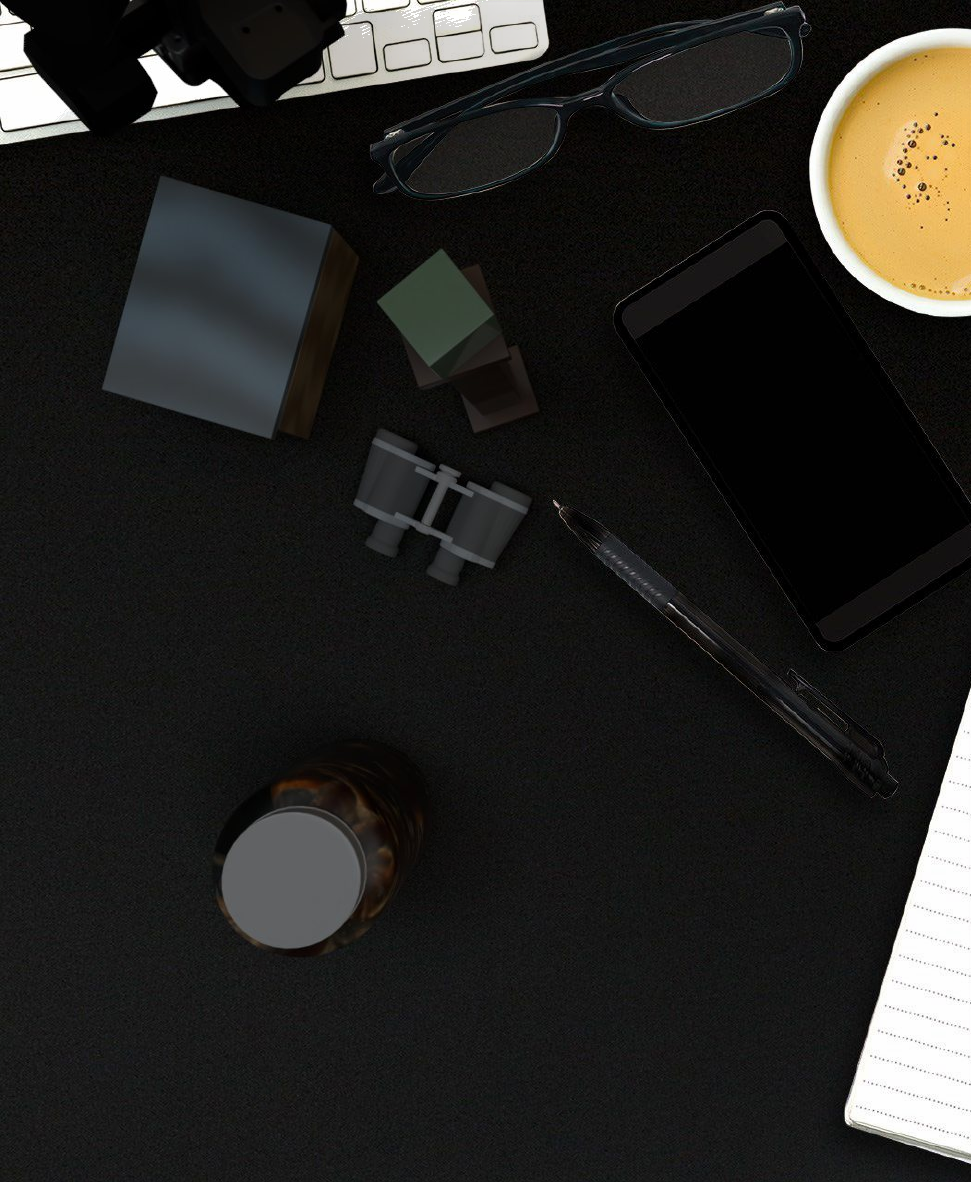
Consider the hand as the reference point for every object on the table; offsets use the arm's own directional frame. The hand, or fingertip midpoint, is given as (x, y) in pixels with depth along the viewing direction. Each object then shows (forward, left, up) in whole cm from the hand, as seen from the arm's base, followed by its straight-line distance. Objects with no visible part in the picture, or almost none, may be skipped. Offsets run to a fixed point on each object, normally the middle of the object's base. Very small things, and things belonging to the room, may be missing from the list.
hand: (245, 104), depth 64 cm
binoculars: (+26, +1, -12) cm, 29 cm away
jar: (+45, -12, -12) cm, 48 cm away
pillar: (+19, +8, -11) cm, 24 cm away
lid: (+10, -7, -4) cm, 13 cm away
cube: (+19, +8, +11) cm, 24 cm away
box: (+9, -7, -11) cm, 16 cm away
